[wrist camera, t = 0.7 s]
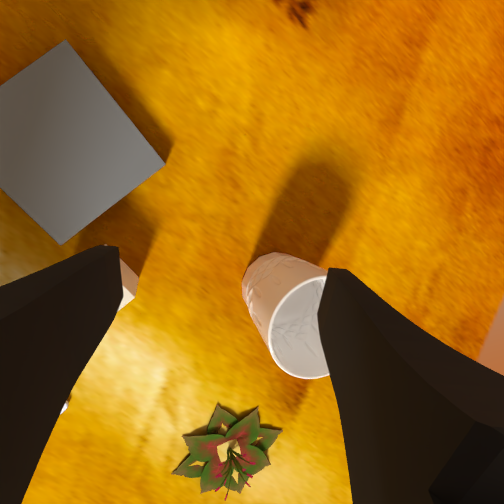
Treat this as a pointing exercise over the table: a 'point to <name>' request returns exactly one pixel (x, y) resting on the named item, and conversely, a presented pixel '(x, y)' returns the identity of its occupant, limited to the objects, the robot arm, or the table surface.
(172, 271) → the table surface
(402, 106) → the table surface
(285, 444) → the table surface
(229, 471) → the lily flower
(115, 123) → the slate tile
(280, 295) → the white cup
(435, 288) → the table surface
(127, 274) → the cream block
